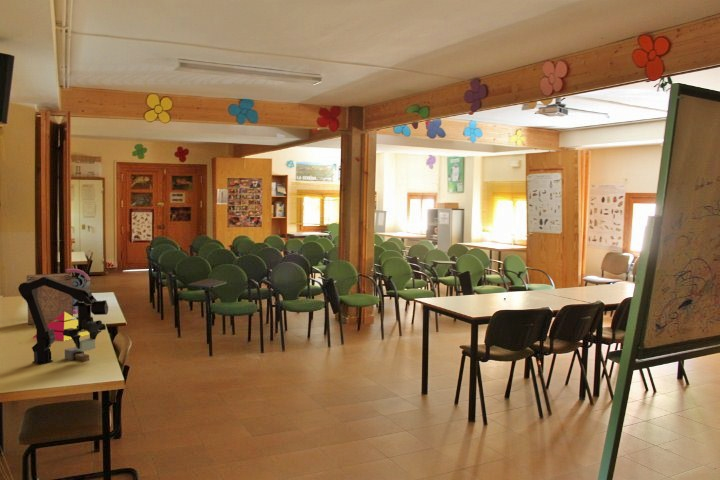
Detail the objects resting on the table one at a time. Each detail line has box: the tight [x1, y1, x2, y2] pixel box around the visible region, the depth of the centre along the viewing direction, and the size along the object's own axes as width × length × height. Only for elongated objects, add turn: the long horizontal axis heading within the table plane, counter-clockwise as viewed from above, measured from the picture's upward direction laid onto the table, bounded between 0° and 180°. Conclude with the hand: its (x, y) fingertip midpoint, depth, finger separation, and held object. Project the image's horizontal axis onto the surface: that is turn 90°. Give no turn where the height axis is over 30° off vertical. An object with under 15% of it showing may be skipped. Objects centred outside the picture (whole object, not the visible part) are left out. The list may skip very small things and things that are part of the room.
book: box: [26, 272, 74, 326], centre depth 374 cm, size 25×9×30 cm, turn 119°
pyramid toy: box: [31, 311, 90, 342], centre depth 338 cm, size 25×25×14 cm
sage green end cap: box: [75, 337, 96, 352], centre depth 283 cm, size 6×7×4 cm
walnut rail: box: [73, 352, 90, 363], centre depth 286 cm, size 3×10×2 cm, turn 57°
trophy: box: [65, 268, 92, 315], centre depth 407 cm, size 20×17×30 cm
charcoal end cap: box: [64, 346, 85, 361], centre depth 289 cm, size 6×7×4 cm
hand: (85, 347), depth 283 cm, fingers closed on sage green end cap, 7 cm apart
